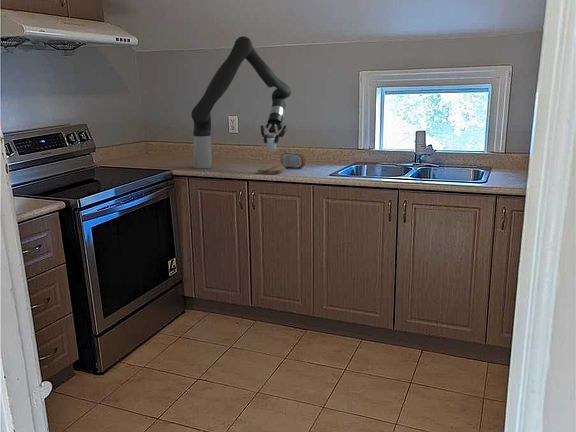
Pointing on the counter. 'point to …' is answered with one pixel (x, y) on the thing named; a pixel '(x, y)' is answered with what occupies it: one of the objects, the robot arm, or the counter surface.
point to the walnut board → (271, 170)
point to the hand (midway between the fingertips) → (270, 142)
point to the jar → (271, 143)
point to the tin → (292, 160)
